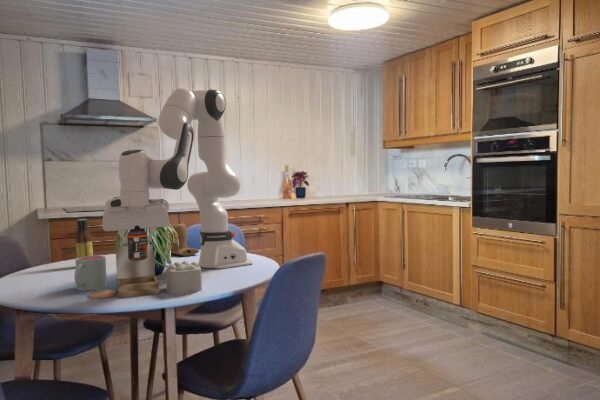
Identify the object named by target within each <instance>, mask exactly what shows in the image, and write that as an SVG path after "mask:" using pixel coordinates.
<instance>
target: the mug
mask: <svg viewBox="0 0 600 400" xmlns="http://www.w3.org/2000/svg"><path fill="white" fill-rule="evenodd" d="M106 261H107V259H106V256H104V255H93V256H85V257H80V258H77V257H76V258H75V270H74V282H75V284H76V290H77V291H85V292H87V291H95V290H96V291H98V290H100V289H101V290H102V289H104V288H106V287H107V267H106V265H107V263H106Z"/></svg>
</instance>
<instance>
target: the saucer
mask: <svg viewBox="0 0 600 400" xmlns="http://www.w3.org/2000/svg"><path fill="white" fill-rule="evenodd" d="M116 295H117V291H116V290H113V289H103V290H102V289H101V290H96V291H95V290H94V291H92V292H90V293H89V298H90V299H95V300H97V299H98V300H100V299H107V298H112V297H114V296H116Z"/></svg>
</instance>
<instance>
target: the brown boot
mask: <svg viewBox="0 0 600 400" xmlns="http://www.w3.org/2000/svg"><path fill="white" fill-rule="evenodd" d="M170 226H172V227H173V228H174V229H175V231H176V232H177V234H178V239H179V250H178V246H177V243H173V245H172V249H171V248H170V250H171V253H170V254H173V255H178V256H184V257H189V256H194V255H196V254H198V253H200V250H199V249H197V248H193V247H189V246H188V245H187V244H188V243H187V241H188V240H187V239H188V230H187V229H188V228H187V225H186V224H185V223H175V224H172V225H170Z"/></svg>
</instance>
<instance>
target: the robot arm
mask: <svg viewBox="0 0 600 400" xmlns="http://www.w3.org/2000/svg"><path fill="white" fill-rule="evenodd" d="M226 103H227V102H226V99H225V97H224V95H223V93H222V92H221V91H220V90H217V89H211V88H210V89H198V90H194V91H193V90H189V89H188V88H181V87H180V88H177V89H175V90H173V91H172V93H171V94H170V95H169V96H168V98H167V99H166V101H165V103H164V105H163V107H162V109H161V111H160V114H159V115H158V126H159V129H160V130H161V132H162V133H163V134H164V135H165V136H167V137H168V138H170V139H173V140H174V141H176V142H175V146H174V151H173V154H172V156H171V157H170V158H166V159H154V158H151V157H150V156H148V155H147V154H146V152H145V150H144V149H128V150H125V151H123V152H121V153H120V155H119V159H118V180H119V182H120V188H119V195H118V196H114V197H112V198H110V199H108V200H106V201H105V207H106V208H105V209H104V211H103V214H102V230H103V231H104V232H116V231H118V235H119V236H120V238H121V239H122V245H128V238H127V237H124V235H123V234H124V231H126V230H127V231H130V230H131V229H134V228H135V226H137V225H139V227H140V228H141V229H144V230H145V229H149V231H150V233H149V235H147V243H151V242H153V240H152V239H153V238H152V237H153V236H154V234H155V232H156V231H155V230H156V228H166V227H167V226H170V225H169V224H170V218H169V213H168V212H169V210H170V207H169V206H170V205H169V202H168V201H167V200H166V199H165V198H158V199H154V198H153V199H150V190H149V189H155V190H156V189H157V190H158V189H159V190H160V189H166V190H167V189H168V190H176V191H177V190H179V189H180V190H181V188H183V187H184V186H185V184H186V183H187V190H188V192H189V193H190V194H191V195H192V196H193V198H194V199H195V202H196V203H197V204H196V205H197V206H198V209H199V214H200V232H199V243H200V251H199V260H198V262H197V264H198V266H199V267H201V268H207V269H219V270H221V269H228V268H234V267H242V266H248V265H252V264H253V262H254V261H253V260H252V259H251V258H248V253H247V250H246V248H245V247H244V246H243V245H241V244H240V243H238V242H237V241H236V240H234V239H233V238H235V237H236V236H237V234H236V232H234V231H231V230H229V220H228V219H229V218H228V217H229V216H228V215H229V214H228V211H227V210H226V208H224V206H222V204H221V201H220V199H227V198H231V197H234V196H237V195H238V193H239V191H240V189H241V181H240V177H239V176H238V174H236V173H235V172H234V171H233V170H232V167H231V166H230V163H229V161H228V158H227V149H226V136H225V135H226V133H225V126H224V125H225V124H224V121H223V117H222V116H223V115H224V114H225V111H226V106H227V105H226ZM194 120H196V121H197V150H198V151H197V152H198V153H197V154H198V157H199V159H200V160H201V161H202V162H203V163H204V164H205V166H206V169H207V171H199V172H196V173H193V174H191V175H190V176H189V164H190V160H191V154H192V150H193V143H194V138H195V131H194V128H193V126H192V125H191V123H192V121H194Z"/></svg>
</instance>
